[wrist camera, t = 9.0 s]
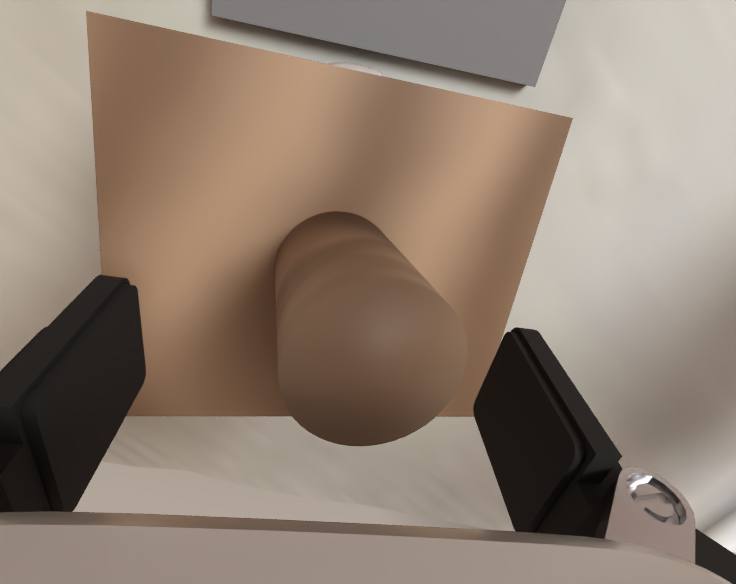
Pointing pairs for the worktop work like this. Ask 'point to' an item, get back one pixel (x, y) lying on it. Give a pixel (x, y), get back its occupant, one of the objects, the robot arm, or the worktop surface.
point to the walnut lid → (309, 230)
